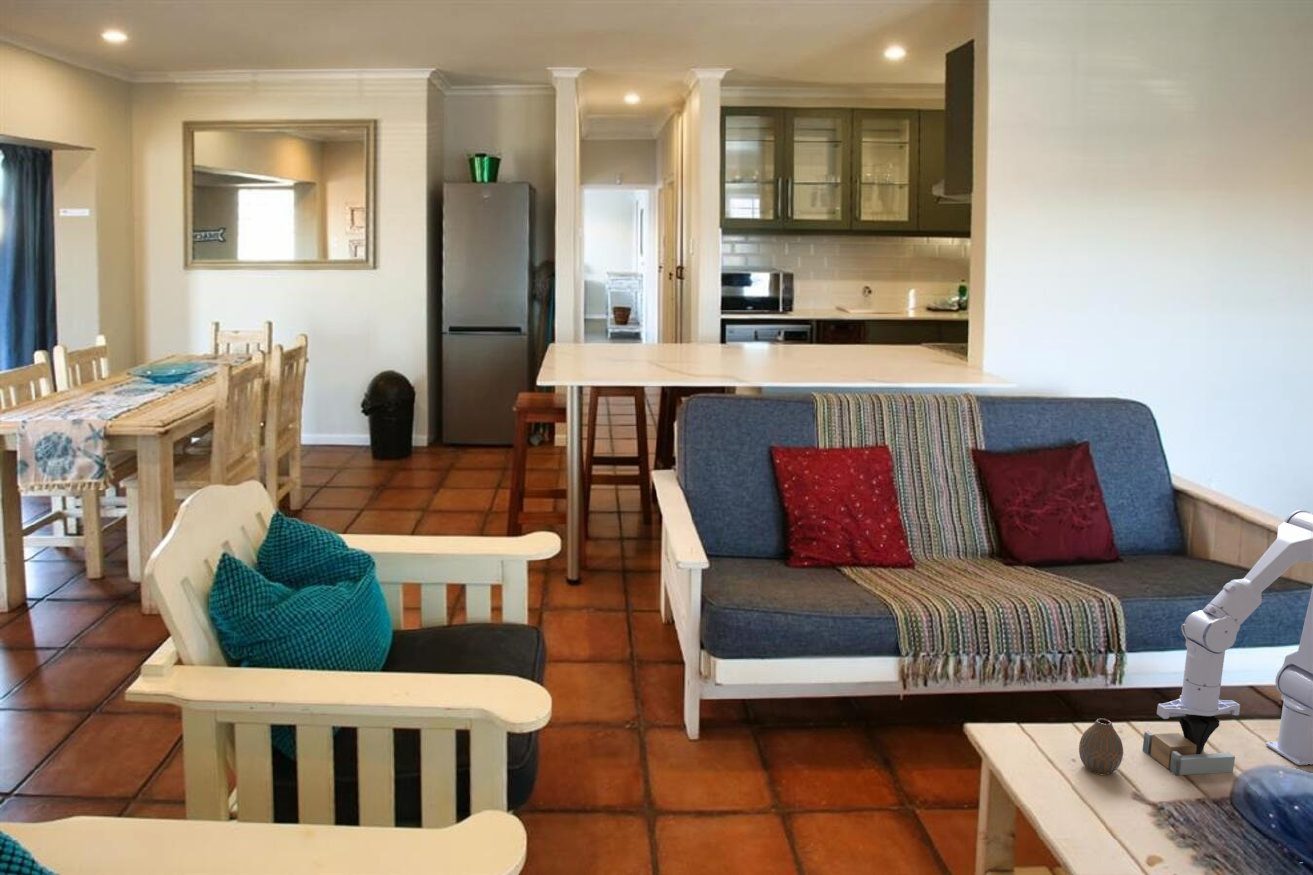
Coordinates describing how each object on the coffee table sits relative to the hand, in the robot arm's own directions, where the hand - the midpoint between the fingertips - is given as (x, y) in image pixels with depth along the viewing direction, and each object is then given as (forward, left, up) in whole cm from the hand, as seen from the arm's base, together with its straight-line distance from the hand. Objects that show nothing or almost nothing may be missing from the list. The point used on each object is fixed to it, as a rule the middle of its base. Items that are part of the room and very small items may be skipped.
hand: (1192, 753), depth 178 cm
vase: (+18, +1, -2) cm, 19 cm away
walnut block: (+4, 0, -1) cm, 4 cm away
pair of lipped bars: (+1, 0, -1) cm, 2 cm away
